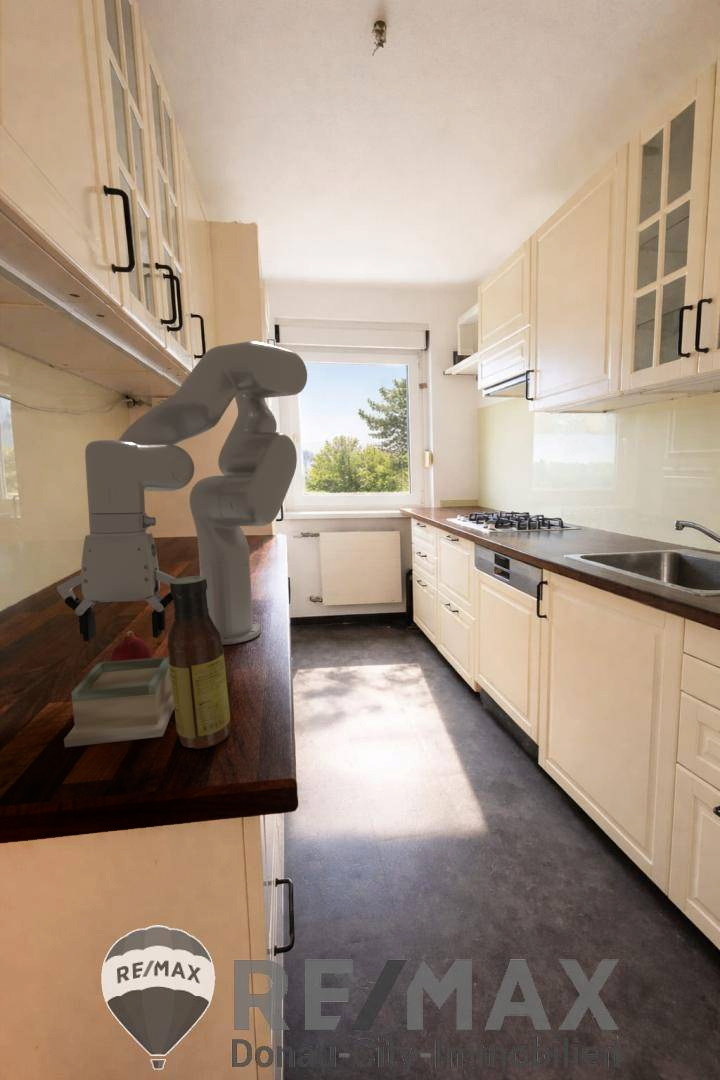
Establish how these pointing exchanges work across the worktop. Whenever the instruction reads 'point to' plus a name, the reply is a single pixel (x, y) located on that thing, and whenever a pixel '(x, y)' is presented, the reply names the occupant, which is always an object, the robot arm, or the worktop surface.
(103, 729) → the open box
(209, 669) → the sauce bottle
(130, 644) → the onion
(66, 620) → the worktop surface
